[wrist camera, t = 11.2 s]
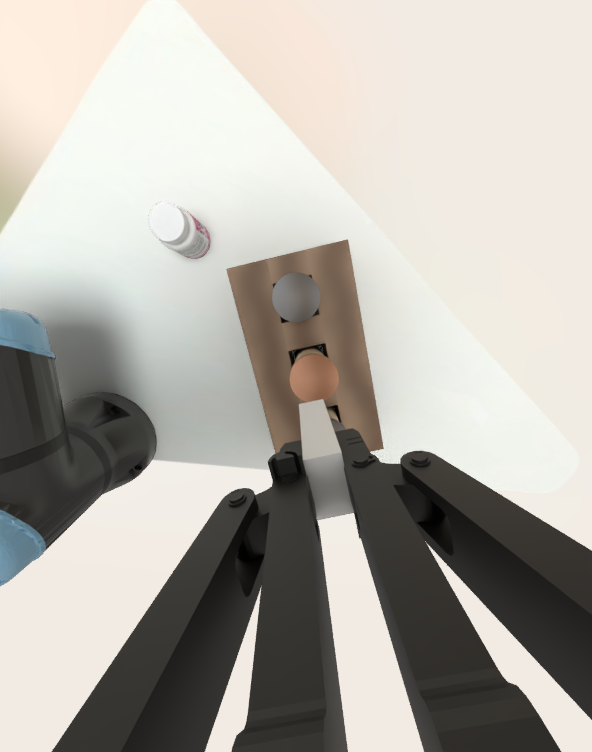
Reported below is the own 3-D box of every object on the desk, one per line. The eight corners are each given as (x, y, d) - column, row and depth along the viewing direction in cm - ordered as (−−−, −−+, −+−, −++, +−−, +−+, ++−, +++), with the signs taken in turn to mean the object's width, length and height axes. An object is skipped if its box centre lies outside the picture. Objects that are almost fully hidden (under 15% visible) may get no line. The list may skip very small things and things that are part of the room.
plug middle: (296, 378, 40) (295, 407, 28) (288, 345, 39) (284, 361, 27) (329, 371, 40) (342, 397, 28) (322, 337, 39) (333, 350, 27)
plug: (283, 321, 41) (278, 326, 29) (275, 287, 40) (266, 278, 28) (316, 314, 41) (324, 316, 29) (309, 279, 40) (314, 267, 28)
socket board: (282, 442, 46) (279, 469, 38) (240, 276, 40) (226, 269, 32) (368, 424, 45) (383, 448, 37) (337, 253, 39) (347, 239, 32)
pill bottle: (217, 236, 39) (196, 216, 31) (199, 266, 40) (173, 255, 32) (187, 213, 38) (157, 187, 30) (169, 244, 39) (136, 227, 31)
